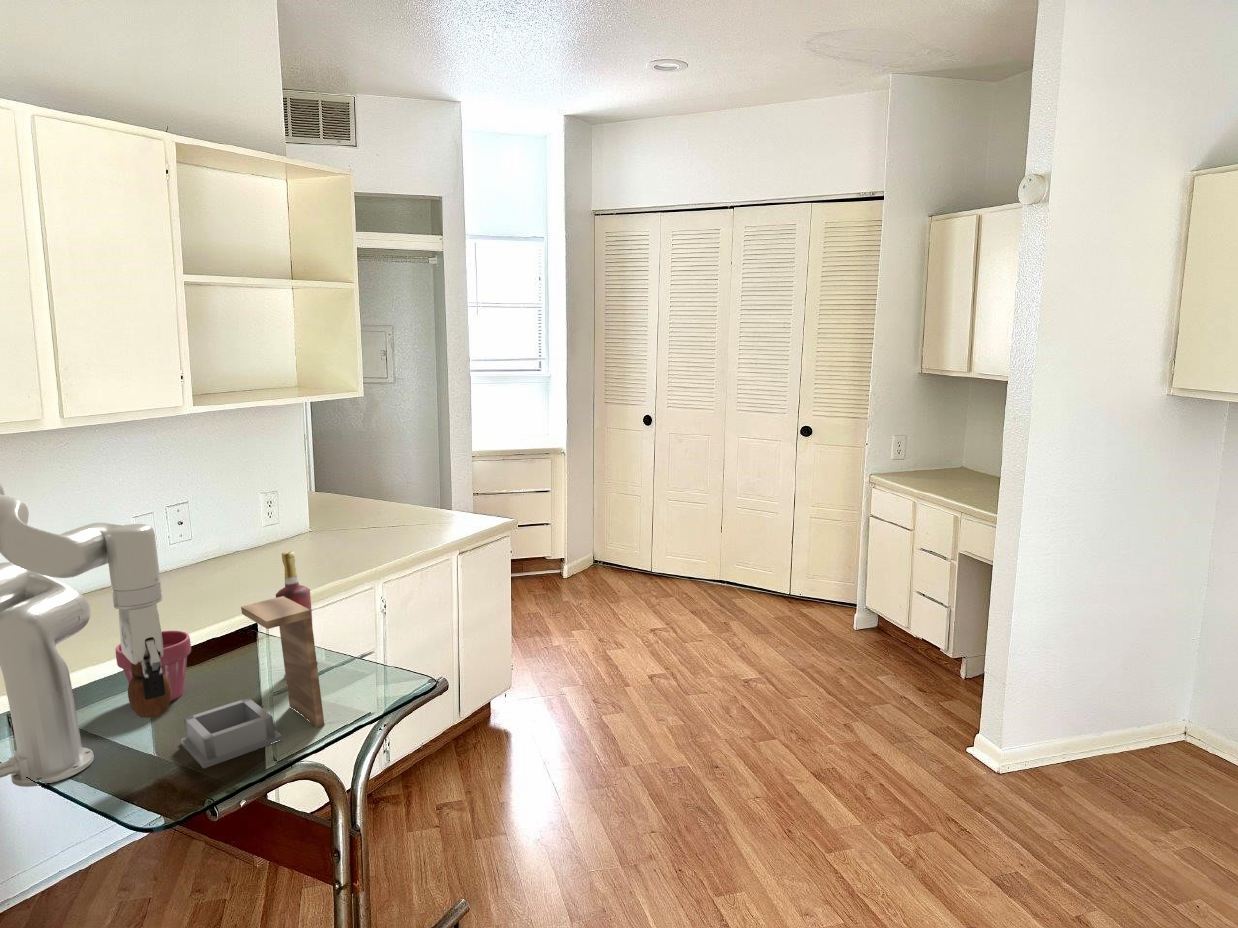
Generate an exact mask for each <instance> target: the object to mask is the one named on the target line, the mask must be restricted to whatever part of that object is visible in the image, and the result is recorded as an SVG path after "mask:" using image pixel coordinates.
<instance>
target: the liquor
mask: <svg viewBox="0 0 1238 928" xmlns="http://www.w3.org/2000/svg"><path fill="white" fill-rule="evenodd" d="M281 560H282V563H283V567H284V587H282V588H280V589H279V590H278V591H277V592H276V593H275V598H278V597H282V596H284V597H286V598H288V599H290V600H292V601H294V602H296V603H298V604H300V605H302V606H304V607H306V608H308V609H310V611H311V619H312V620H313V614H312V613H313V612H312V611H313V610H312V609H313V608H312V598H311V588H308V586H305V585H302V584H300V582H299V578H298V572H297V570H296V556H295V551H286V552H282V553H281ZM318 664H319V662H318V661H317V666H318Z"/></svg>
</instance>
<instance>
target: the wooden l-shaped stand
mask: <svg viewBox="0 0 1238 928" xmlns="http://www.w3.org/2000/svg"><path fill="white" fill-rule="evenodd" d="M240 609H241V610H240V611H241V614H242V615H243V616H244V617H246V618H248V619H249V620H251V621H253V622H254V623H255V624H258V625H260V626H261V627H263V628H265V629H266V630H269V629H273V628H277V627H279V634H280V642H281V643H280V644H281V650H282V658H283V664H284V674H285V680H286V681H285V682H286V689H287V690H286V691H287V696H288V705H289V708H290V707H291V708H293V709H295V710H296V711H298V712H299V713H300V714H302V715H303V716H304V717H305V718H306V719H308V720H309V721H310V722H311V723H312V725H313V726H314V727H315V726H316V727H315V728H317V729H318V728H320V727H323V726H325V720H324V719H325V718H324V712H323V711H324V710H323V702H322V695H321V692H322V691H321V686H320V685H321V684H320V679H319V678H320V677H319V670H318V665H317V662H318V661H317V654H316V645H315V635H314V630H313V628H314V627H313V618H312V619H311V611H310V609H308V608H306V607H304V606H302V605H300V604H298V603H296V602H294V601H292V600H290V599H288V598H286V597H284V596H282V597H278V598H276V597H274V598H269V599H265V600H262V601H257V602H254V603H251V604H250V603H249V604H247V605H242V606H240ZM291 708H290V709H291ZM293 709H292V710H293ZM305 718H304V719H305ZM306 719H305V720H306ZM309 721H308V722H309ZM310 722H309V723H310ZM311 723H310V724H311Z"/></svg>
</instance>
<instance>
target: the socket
mask: <svg viewBox="0 0 1238 928" xmlns="http://www.w3.org/2000/svg"><path fill="white" fill-rule="evenodd" d="M183 720H184V728H185V735H186V737H182V738H180V744H181V745H182V747H183V748H184V749H185V750H186V751H187V752H188V753H189V755H191V757H193V759H194V760H195V761H196V763H198V764H199V766H201V768H202V769H208V768H209V767H212V766H215V765H218V764H221V763H223V762H226V761H230V760H231V759H234V758H237V757H240V756H242V755H246V754H248V753H251V752H255V751H257V750H259V748H260V749H263V748H265V747H267V746H266V745H268V746H270V745H269V744H271V743H273V742H275V741H279V740H281V739H282V740H283V738H282V735H281V733H279V732H278V731H277V730H276V729H275V726H274V717H273V716H272V715H271V714H270V713H269V712H267V711H266V710H265V709H264V708H262V707H261V706H260V705H258V704H257V702H255V701H254V700H253V699H251V698H250V697H246V698H243V699H240V700H238V701H233V702H231V703H227V704H225V705H221V706H217V707H216V708H215V707H214V708H212V709H209V710H205V711H202V712H199V713H195V714H193V715H190V716H186V717H184V718H183ZM279 742H280V741H279ZM271 745H272V744H271Z"/></svg>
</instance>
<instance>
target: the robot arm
mask: <svg viewBox="0 0 1238 928" xmlns="http://www.w3.org/2000/svg"><path fill="white" fill-rule="evenodd" d="M28 522H29V508H28V506H27V505H26V503H25V502H24V501H22V500H21V499H18V498H14V497H10V496H7V495H5V490H4V488H3V486H2V485H1V483H0V555H2V556H3V557H4V558H5V559H6V560H7V562H4V561H3V562H0V671H1V674H2V677H3V681H4V687H5V692H6V697H7V700H8V705H9V706H8V707H9V711H10V716H11V717H10V718H11V722H12V723H11V724H12V728H13V735H14V739H15V745H16V750H15V751H14V752H13V753H14V756H12V757H8V760H6V761H3V762H0V779H1V778H5V777H7V776H10V779H11V782H12V784H13V785H15V786H18V787H24V788H25V787H27V788H29V787H37V786H41V785H37V784H36V783H34V782H33V781H35V782H38V781H41V782H44V783H50V784H53V783H57V782H59V781H62V780H65V779H68V778H70V777H73V776H74V775H77V774H78V773H80V772H82V771H83V770H85V769H87V768H88V767H89V766H90V765H91V764H92V763H93V761H94V760H95V756H94V752H93V750H91V749H90V748H88V747H83V745H82V741H81V740H82V738H81V734H80V733H81V732H80V726H79V723H78V722H79V721H78V717H77V711H76V704H75V699H74V694H73V693H74V692H73V686H72V680H71V676H70V670H69V668H68V665H67V663H66V661H65V660H64V658H63V657H62V656H61V655H60V653H59V652H58V649H57V645H59V644H60V643H61V642H63V641H66V640H68V639H69V638H71V637H73V636H75V635H77V634H78V633H80V631H82V630H83V629H84V628H85V627H86V626H87V624H89V621H90V619H91V615H92V613H91V605H90V604H89V603H90V602H88V600H87V598H86V597H85V596H84V595H83V594H82V593H81V592H79V591H78V590H76V588H74V587H72V586H70V585H67V584H65V583H64V582H62V581H60V580H57V579H69V578H75V577H78V576H80V575H83V574H85V573H87V572H89V571H91V570H94V569H97V568H99V567H102V566H105V565H108V571H109V578H110V587H111V594H112V602H113V607H114V609H116V610H118V622H119V623H118V624H119V637H120V643H121V649H122V653H123V654H124V655H125V656H126V658H127V659H128V660H129V661H130V662H131V663H133V664H135V665H136V664H138V662H141V666H142V670H143V675H144V677H143V678H142V683H143V691H144V698H145V699H146V700H148V699H152V698H156V697H159V696H163V695H164V694H165V687H164V679H163V673H162V668H161V663H160V658H161V657H162V656H163V641H162V633H161V631H162V626H161V621H160V614H159V609H158V604H159V603H160V602H162V601H163V593H162V585H161V584H162V583H161V575H160V568H159V567H160V566H159V558H158V551H157V550H158V549H157V541H156V540H157V539H156V534H155V531H154V528H153V527H152V526H151V525H148V524H146V523H132V524H130V523H129V524H123V525H121V524H116V523H115V524H114V523H107V522H93V523H89V524H86V525H82V526H80V527H77V528H74V529H71V530H68V531H64V532H62V533H60V534H58V533H52V532H49V531H46V530H43V529H39V528H36V527H33V526H30V525H28ZM55 578H56V579H55ZM146 656H149V659H145V660H144V658H143V657H146ZM147 663H150V665H148V667H146V664H147ZM133 676H135V675H134V674H133V673H132V677H133ZM26 777H28V778H30V779H31V780H33V781H31V780H30V779H28V778H26Z"/></svg>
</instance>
